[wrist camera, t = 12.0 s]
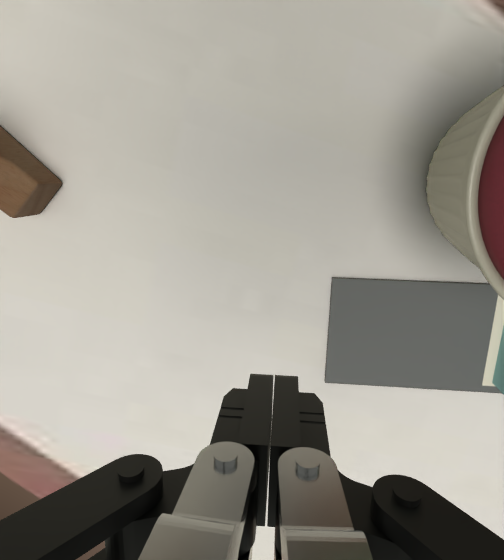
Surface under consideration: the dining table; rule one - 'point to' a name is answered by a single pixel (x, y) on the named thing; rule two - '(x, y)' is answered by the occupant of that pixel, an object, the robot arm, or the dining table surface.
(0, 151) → the wooden block
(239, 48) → the dining table surface
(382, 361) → the mat
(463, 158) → the canister
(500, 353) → the t block
